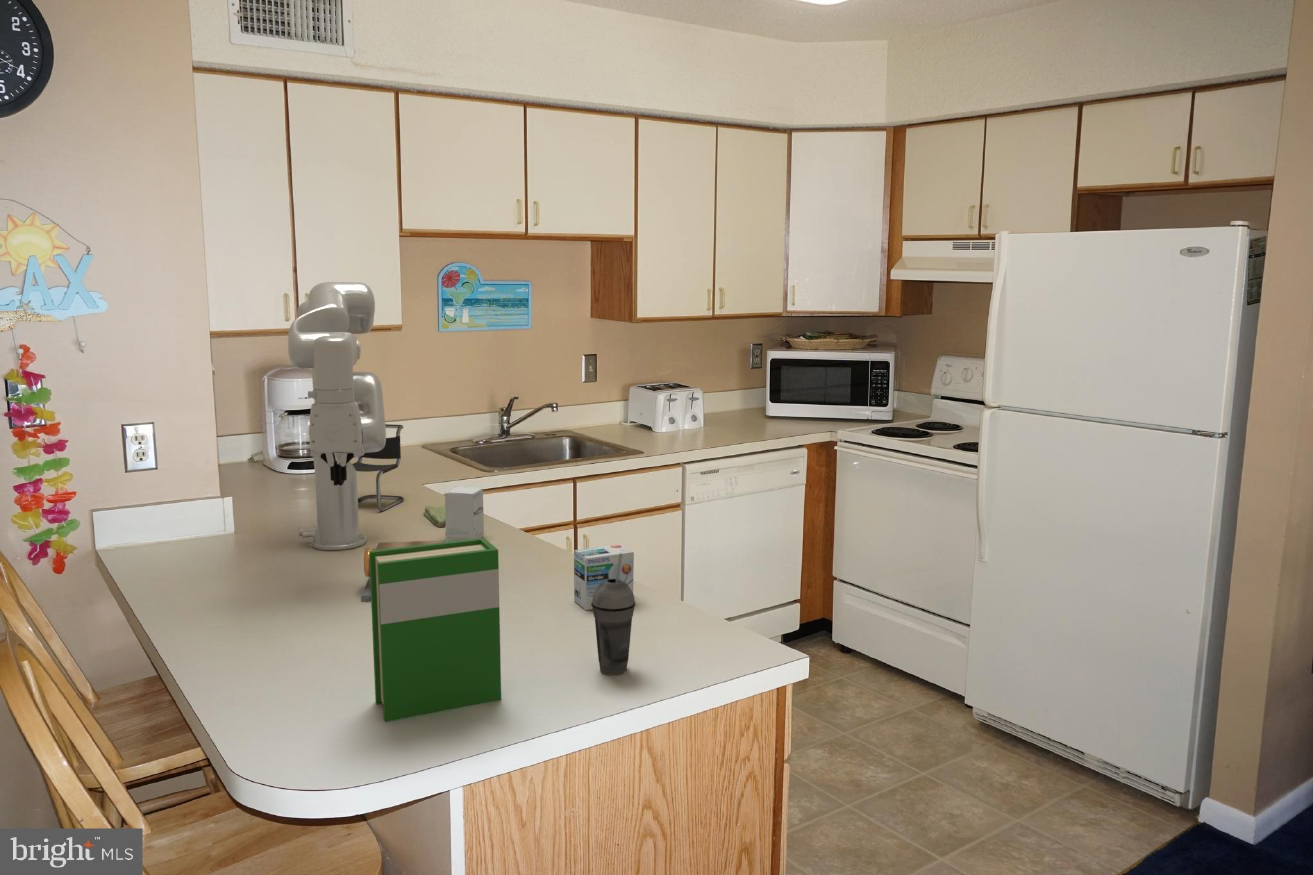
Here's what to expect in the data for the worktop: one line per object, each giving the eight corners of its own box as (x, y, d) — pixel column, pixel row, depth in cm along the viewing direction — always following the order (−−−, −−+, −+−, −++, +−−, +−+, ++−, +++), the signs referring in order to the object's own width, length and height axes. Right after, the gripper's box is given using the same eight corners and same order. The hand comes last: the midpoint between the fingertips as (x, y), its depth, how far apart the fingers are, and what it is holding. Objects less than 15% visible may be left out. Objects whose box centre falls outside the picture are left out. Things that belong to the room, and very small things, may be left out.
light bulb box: (586, 611, 190) (585, 558, 188) (572, 601, 196) (572, 549, 194) (635, 603, 195) (635, 551, 193) (620, 593, 201) (620, 543, 199)
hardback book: (384, 722, 142) (378, 564, 138) (375, 702, 149) (369, 550, 145) (501, 699, 150) (498, 549, 146) (487, 681, 157) (484, 537, 153)
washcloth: (468, 510, 272) (468, 499, 271) (484, 525, 256) (484, 513, 255) (421, 514, 266) (421, 503, 266) (434, 530, 250) (434, 518, 250)
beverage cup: (591, 661, 165) (590, 547, 162) (633, 660, 166) (634, 547, 162) (591, 679, 158) (591, 560, 155) (636, 678, 158) (637, 559, 155)
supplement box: (473, 544, 236) (472, 493, 234) (445, 542, 237) (443, 492, 235) (485, 536, 243) (483, 487, 241) (457, 534, 245) (455, 485, 242)
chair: (408, 499, 282) (405, 424, 279) (380, 513, 266) (377, 434, 262) (366, 497, 285) (363, 423, 281) (336, 511, 268) (332, 432, 264)
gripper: (292, 399, 194) (297, 489, 197) (369, 399, 196) (373, 487, 199) (300, 394, 201) (305, 480, 205) (375, 393, 203) (378, 479, 207)
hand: (339, 483), depth 202 cm, fingers closed
